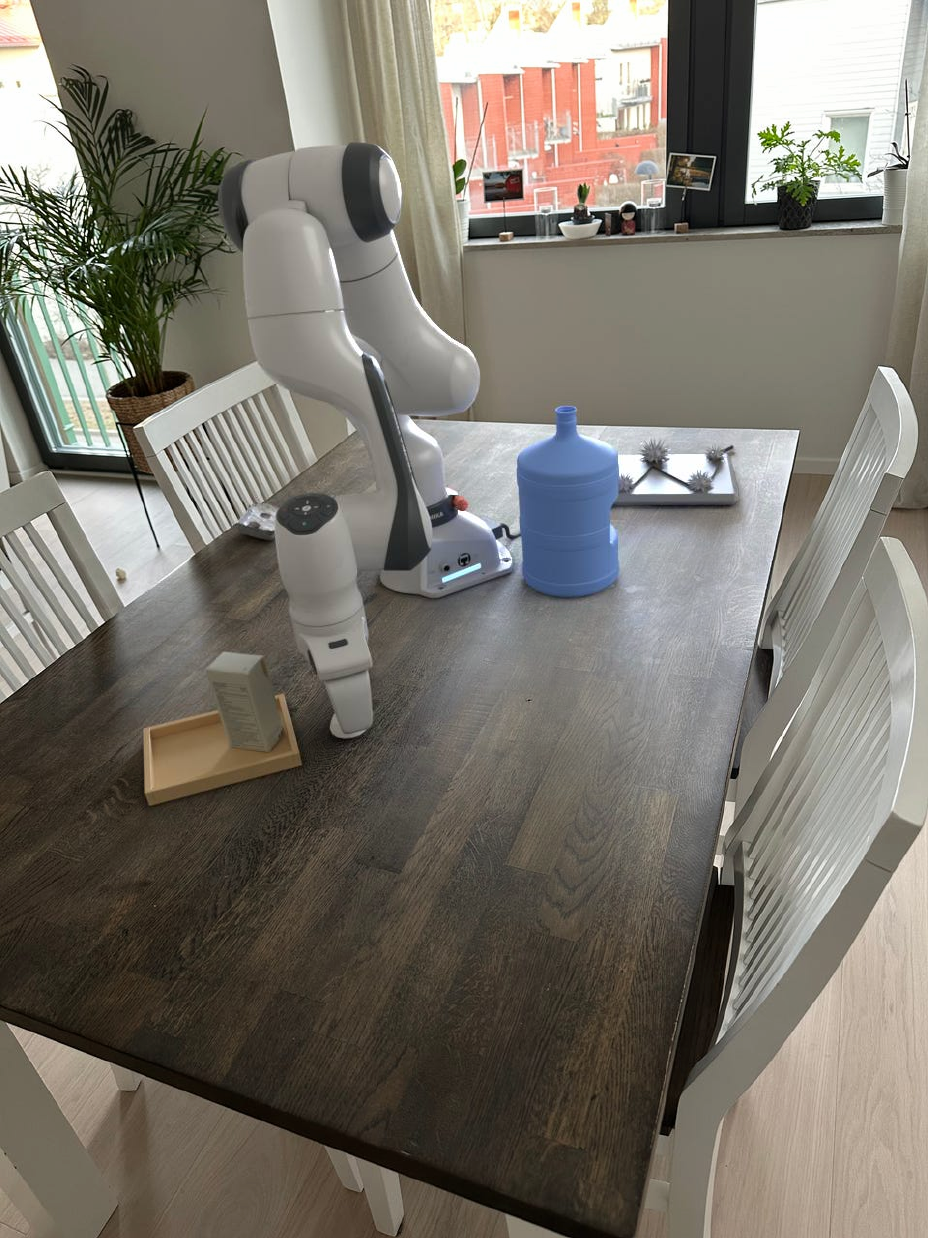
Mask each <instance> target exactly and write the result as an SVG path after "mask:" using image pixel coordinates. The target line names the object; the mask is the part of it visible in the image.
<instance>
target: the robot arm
mask: <svg viewBox="0 0 928 1238" xmlns="http://www.w3.org/2000/svg"><path fill="white" fill-rule="evenodd" d="M217 206H218V213H219V217H220V221H221V225H222V226H223V229H224V232H225V233H226V235H227V237H228V238H229V239H230V241H231V243H233V245H234V246H235V247H236V248H237V249H238V250H239V251H240V252H241V253H242V280H243V281H242V283H243V294H244V304H245V310H246V318H247V325H248V330H249V336H250V340H251V346H252V348H253V353H254V357H255V359H256V361H257V364H258V366H259V367H260V368H261V370H262V372H264V374H265V375H266V376H267V377H268V378H269V379H270V380H272V381H273V382H274V383H275V384H277V385H279V386H280V387H282V388H283V389H285V390H287V391H289V392H291V393H294V394H297V395H299V396H302V397H305V398H308V399H313V400H317V401H320V402H323V403H327V404H329V405H330V406H332V407H333V408H335V409H336V410H337V411H338V412H340V413H341V414H342V415H343V416H344V417H345V418H346V419H347V420H348V421H349V422H350V424H351V425H352V427H353V428H354V429H355V431H356V432H357V434H358V435H359V437H360V438H361V440H362V442H363V444H364V446H365V448H366V450H367V452H368V456H369V458H370V461H371V467H372V471H373V476H374V482H375V488H376V491H371V492H362V493H361V492H360V493H350V494H338V495H336V494H325V493H322V492H308V493H303V494H299V495H296V496H293V497H291V498H289V499H288V500H286V501H285V502H284V503H282V504H281V505H280V506H279V509H278V510H277V512H276V515H275V536H274V539H273V540H274V541H273V543H274V548H275V553H276V558H277V559H276V560H277V564H278V570H279V573H280V574H279V575H280V580H281V583H282V586H283V587H284V589H285V591H286V593H287V596H288V615H289V619H290V620H289V621H290V624H291V628H292V634H293V637H294V642H295V646H296V649H297V650H298V651H299V653H300V654H301V655H303V657H304V658H305V659H306V660H307V661H308V663H309V664H310V665H311V667H312V669H313V671H314V674H315V675H316V677H317V679H318V681H319V682H322V684H323V685H324V687H325V690H326V692H327V695H328V698H329V700H330V703H331V706H332V709H333V712H334V714H336V717H337V720H338V723H339V725H340V728H341V730H342V732H343V733H344V734H352V733H356V732H360V731H363V730H366V731H367V730H369V729H371V728H372V726H373V723H374V722H373V721H374V711H373V699H372V688H371V687H372V686H371V680H370V674H369V670H370V669H372V668H373V659H372V655H371V654H372V653H371V650H370V646H369V629H368V623H367V617H366V611H365V606H364V599H363V595H362V593H361V591H360V589H359V587H358V584H357V579H358V578H357V576H358V572H359V573H360V572H369V571H371V572H372V571H380V572H379V581H380V582H381V584H382V585H383V586H385V587H386V588H387V589H390V590H392V591H395V592H398V593H402V594H403V593H404V594H413V595H414V594H415V595H420V596H423V597H425V598H430V599H439V598H442V597H445V596H447V595H450V594H453V593H456V592H458V591H459V592H460V591H461V590H465V589H467V588H470V587H473V586H476V585H479V584H482V583H484V582H487V581H491V580H493V579H496V578H499V577H502V576H505V575H507V574H510V573H511V572H512V571H513V568H514V562H513V558H512V555H511V553H510V552H509V550H508V549H507V548H506V547H505V546H504V544H502V543H501V542H500V541H498V540H499V539H501V538H503V537H504V533H503V532H505V536H506V537H507V538H508V539H510V540H515V539H518V538H520V537H521V533H520V532H519V533H517V534H511V532H510V527H509V526H508V525H507V524H505V523H502V522H497V521H494V520H492V519H489V518H487V517H485V516H483V515H482V516H477V515H475V514H473V513H471V512H468V511H466V510H467V509H468V508H469V502H468V501H467V500H466V499H465V497H464V496H462V495H459V493H458V492H457V491H456V490H454V489H452V487H450V486H448V485H447V484H446V478H445V477H446V476H445V467H444V457H443V451H442V449H441V446H440V444H439V443H438V441H437V440H436V439H435V438H434V437H433V436H431V435H430V434H428V432H426V431H424V430H422V429H421V428H419V427H418V426H417V425H416V424H415V422H414V421H413V420H412V417H410V416H418V417H431V418H432V417H435V418H436V417H442V416H448V415H454V414H455V415H456V414H460V413H464V412H466V411H467V410H468V409H469V408H470V407H471V406H472V404H474V402H475V399H476V398H477V396H478V393H479V390H480V386H481V370H480V366H479V364H478V360H477V359H476V357H475V355H474V354H473V352H472V351H471V350H470V349H469V347H468V346H466V345H463V344H462V343H460V342H458V341H456V340H455V339H453V338H451V336H450V335H448V334H447V333H445V332H444V331H443V330H442V329H440V327H439V326H438V325H437V324H436V323H435V322H434V321H433V320H432V318H430V317H429V315H428V314H427V313H426V311H425V310H424V309H423V307H422V306H421V304H420V303H419V301H418V300H417V298H416V295H415V293H414V292H413V289H412V286H411V284H410V281H409V277H408V275H407V271H406V268H405V266H404V263H403V259H402V256H401V253H400V249H399V245H398V242H397V239H396V237H395V233H394V229H395V227H396V226H397V224H398V223H399V221H400V218H401V213H402V186H401V182H400V178H399V175H398V172H397V169H396V165H395V164H394V161H393V158H392V157H391V156H390V155H389V154H388V153H387V152H386V151H385V150H384V149H382V147H380V145H377V144H375V143H369V142H355V141H352V142H349V143H348V144H347V145H341V144H340V145H339V144H337V145H334V144H333V145H316V146H307V147H298V148H297V149H295V150H293V151H287V152H282V153H278V154H274V155H270V156H267V157H264V158H261V159H260V158H259V159H253V158H252V159H247V160H244V161H242V162H239V163H237V164H235V165H234V166H231V167H229V168H228V169H227V170H226V171H225V172H224V175H223V177H222V178H221V181H220V184H219V187H218V190H217ZM353 336H354V337H356V338H353ZM734 448H735V446H734V445H733V444H731V445H728V446H727V447H725V448H722V450H721V452H722V451H724V450H725V451H724V452H723V453H727V452H728V451H731V450H733V449H734ZM503 530H504V531H503Z"/></svg>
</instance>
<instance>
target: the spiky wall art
mask: <svg viewBox="0 0 928 1238" xmlns="http://www.w3.org/2000/svg"><path fill="white" fill-rule="evenodd" d="M662 440H663V439H659V441H658V443H657V441H656V438H653V440H652V439H650V441H649V442H648V443H647V442H646V441H644V442H643V443H642V444H641V446H642V447H643V448H644V449H641V448H639V452H637V454H618V463H619V482H618V497H617V499H616V500H615V502H613V504H612V506H733V505H734V504H736V503H737V502H738V501H739V500H740V496H739V492H738V487H737V486H738V485H737V481H736V475H735V471H734V466H733V461H732V458H731V457H730V456H729V455H728V453H727V452H725V453H723V452H724V451H725V450H724V451H722V452H721V450H723V448H722V447H723V446H718V447H717V445H715V444H714V445H713V444H712V447H709V446H707V447H708V448H706V451H707V452H705V453H694V454H692V453H687V454H685V453H679V454H678V453H677V454H669V453H668V452H670V451H671V450H672V448H671V449H669V446H670V444H668V445H666V446H664V443H665V441H666V439H665V440H663V441H662Z"/></svg>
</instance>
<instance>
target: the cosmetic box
mask: <svg viewBox="0 0 928 1238" xmlns="http://www.w3.org/2000/svg"><path fill="white" fill-rule="evenodd" d="M205 673H206V677H207V680H208V682H209V686H210V689H211V692H212V695H213V699H214V701H215V705H216V708H217V709H216V710H218V712H219V715H220V718H221V721H222V725H223V728H224V731H225V734H226V737H227V740H228V744H229V746H230V747H235V748H241V749H248V750H255V751H263V752H270V751H271V750H272V748H273V747H274V746H275V745H276V743H277V742H278V741H279V740H280V738H281V737H282V736H283V734H284V733H285V731H284V728H283V724H282V720H281V716H280V713H279V709H278V706H277V702H276V698H275V696H276V695H275V691H274V687H273V684H272V679H271V676H270V672H269V669H268V666H267V662H266V659H265V655H263V654H257V653H256V654H255V653H247V652H246V653H245V652H235V651H225V650H223V651H222V652H221V653H220V654H219V655H218V656H217V657H216V658H214V660H212V661H211V662H210V664H208V665H207V667H206V668H205Z"/></svg>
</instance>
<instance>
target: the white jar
mask: <svg viewBox="0 0 928 1238" xmlns="http://www.w3.org/2000/svg"><path fill="white" fill-rule="evenodd" d="M329 731H330V733H331V735H333V736H335V737H336V738H341V739H352V738H355V737H358V736H361V735H362V734H363V733H365V732H367V730H363V731H360V732H356V733H352V734H344V733H343V732H342V730H341V728H340V725H339V723H338V720H337V717H336V714H335V713H334V714H333V715H332V718H331V720H330V724H329Z"/></svg>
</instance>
